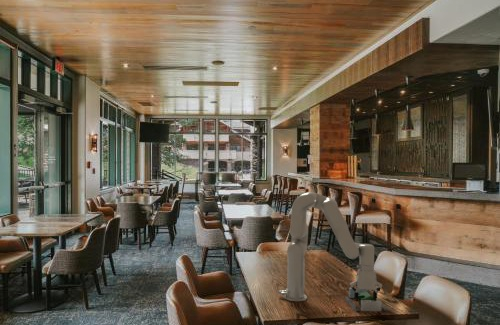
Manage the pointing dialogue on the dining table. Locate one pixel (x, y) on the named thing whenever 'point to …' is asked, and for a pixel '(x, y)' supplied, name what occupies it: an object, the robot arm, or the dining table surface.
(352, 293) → the block
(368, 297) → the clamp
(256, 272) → the dining table surface
